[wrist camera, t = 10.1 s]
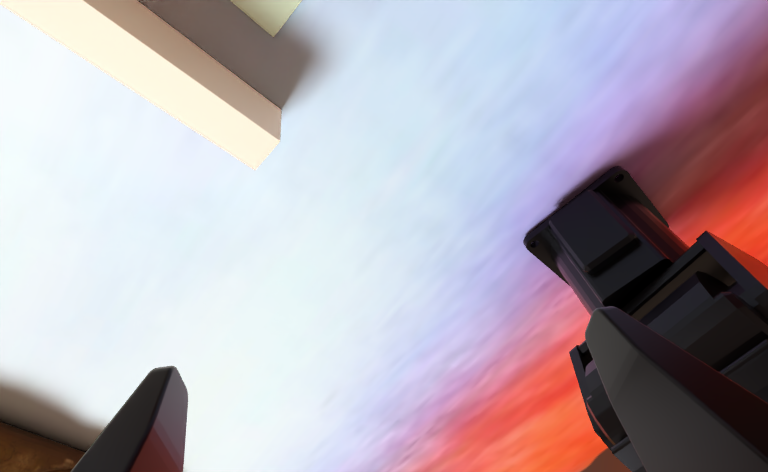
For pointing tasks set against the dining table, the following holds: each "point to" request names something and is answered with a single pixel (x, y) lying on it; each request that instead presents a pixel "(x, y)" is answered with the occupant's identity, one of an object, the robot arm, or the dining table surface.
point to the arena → (169, 66)
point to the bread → (34, 452)
